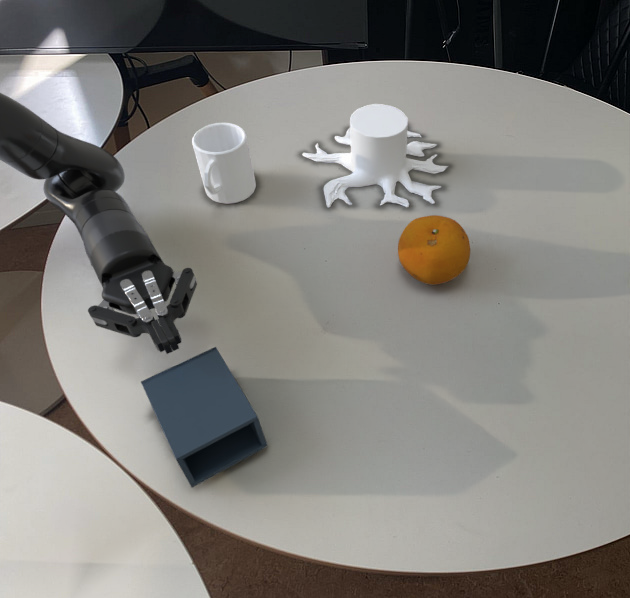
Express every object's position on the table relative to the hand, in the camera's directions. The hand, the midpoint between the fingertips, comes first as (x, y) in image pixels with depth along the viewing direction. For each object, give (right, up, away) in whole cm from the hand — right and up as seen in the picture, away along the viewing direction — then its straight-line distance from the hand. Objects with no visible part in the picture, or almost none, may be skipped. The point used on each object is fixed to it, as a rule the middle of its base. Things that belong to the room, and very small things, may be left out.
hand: (171, 347), depth 67 cm
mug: (-3, +22, +31) cm, 38 cm away
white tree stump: (+21, +28, +37) cm, 51 cm away
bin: (0, -4, +5) cm, 7 cm away
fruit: (+30, +10, +22) cm, 39 cm away
